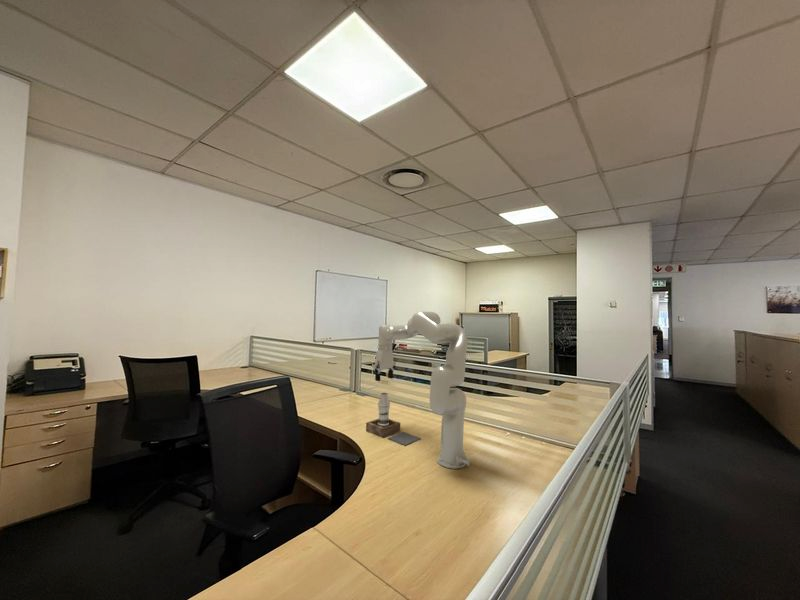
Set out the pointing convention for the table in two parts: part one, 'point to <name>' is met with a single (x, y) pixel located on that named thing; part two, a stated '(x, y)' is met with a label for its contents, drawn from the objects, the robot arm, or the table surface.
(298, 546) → the table surface
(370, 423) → the box
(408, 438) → the mat
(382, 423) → the plastic bottle
